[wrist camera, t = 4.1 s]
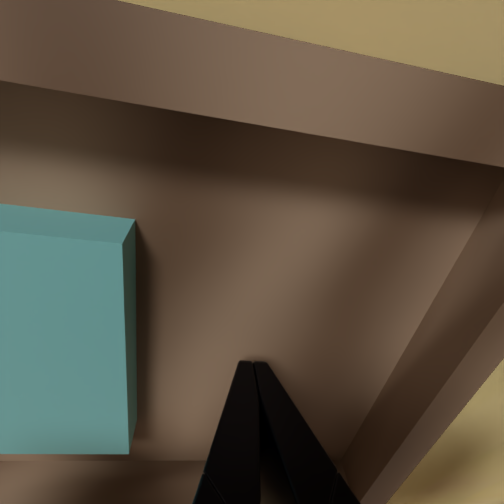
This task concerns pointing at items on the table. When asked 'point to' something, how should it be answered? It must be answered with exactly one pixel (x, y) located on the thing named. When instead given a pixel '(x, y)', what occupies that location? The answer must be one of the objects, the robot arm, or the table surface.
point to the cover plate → (67, 332)
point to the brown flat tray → (262, 233)
